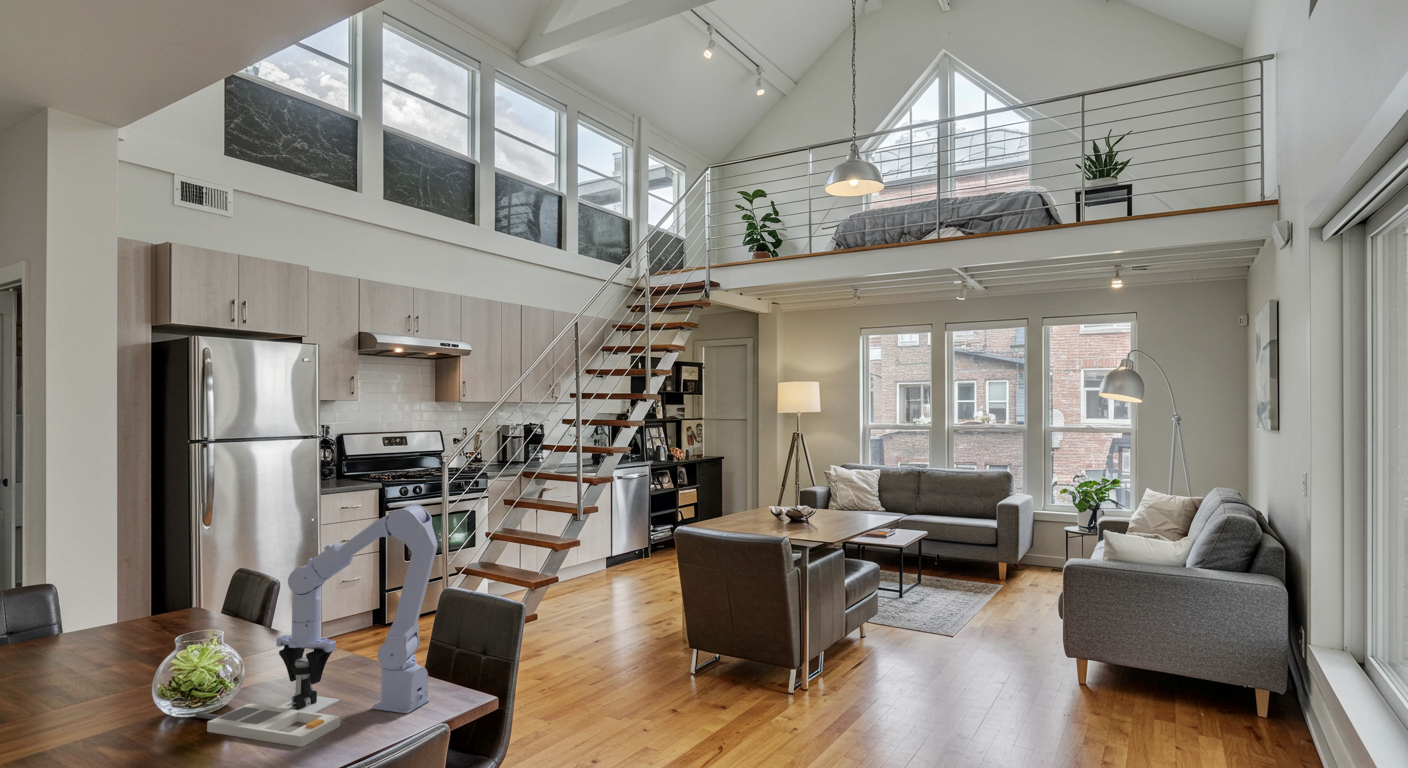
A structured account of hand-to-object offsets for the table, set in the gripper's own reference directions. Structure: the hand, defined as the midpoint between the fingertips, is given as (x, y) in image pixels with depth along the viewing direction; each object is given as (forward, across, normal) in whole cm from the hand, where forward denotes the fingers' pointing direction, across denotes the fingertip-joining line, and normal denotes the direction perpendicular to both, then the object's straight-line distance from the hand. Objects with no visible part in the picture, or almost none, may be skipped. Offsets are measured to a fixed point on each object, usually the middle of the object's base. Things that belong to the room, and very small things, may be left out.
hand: (305, 681), depth 166 cm
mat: (+6, 0, 0) cm, 6 cm away
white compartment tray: (+6, -2, -11) cm, 12 cm away
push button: (+5, 0, -1) cm, 5 cm away
